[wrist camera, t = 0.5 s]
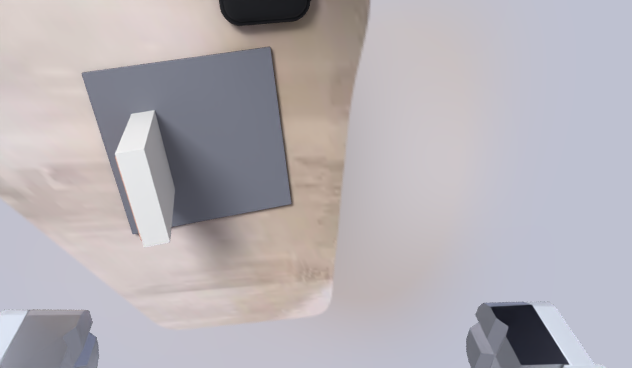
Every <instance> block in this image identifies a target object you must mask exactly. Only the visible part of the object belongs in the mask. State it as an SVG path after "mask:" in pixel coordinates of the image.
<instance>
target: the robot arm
mask: <svg viewBox="0 0 632 368" xmlns="http://www.w3.org/2000/svg"><path fill="white" fill-rule="evenodd" d="M476 317H477V319H478V321H479V322H478V323H477V324H475V325H474V326H473V327H471V328H470V330H469V333H468V336H467V339H466V350H467V351H466V352H467V356H468V360H469V363H470V366H471V368H606V367H604V366H603V365H602V364H594V363H593V361H592V360H591V359H590V357H589V355H588V354H587V352H586V351H585V350H584V348H583V347H582V345H581V344H580V342H579V341H578V339H577V338H576V336H575V335H574V333H573V332H572V331H571V329H570V328H569V326H568V325H567V323H566V322H565V320H564V319H563V317H562V316H561V314H560V313H559V311H558V310H557V308H556V307H555V306H554V305H553V304H552V303H550V302H502V303H501V302H499V303H483V304H481V305H480V306H479V307H478V310H477V312H476ZM92 323H93V322H92V318H91V315H90V312H89V311H88V310H3V311H2V312H1V313H0V368H97V366H98V359H99V352H98V351H99V349H98V342H97V337H95V336H94V335H93V334H91V333H90V332H89V331H90V328H91V325H92Z"/></svg>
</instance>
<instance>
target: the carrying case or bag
mask: <svg viewBox="0 0 632 368" xmlns="http://www.w3.org/2000/svg"><path fill="white" fill-rule="evenodd" d="M310 1H311V0H219V4H220V9H221V12H222V14H223V16H224V17H225V19H226V20H227V21H229V22H230V23H232V24H234V25H238V26H244V25H256V24H267V23H279V22H291V21H296V20H299V19H300V18H302V17H303V16H304V15H305V14H306V12H307V11H308V9H309V6H310Z"/></svg>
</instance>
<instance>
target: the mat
mask: <svg viewBox="0 0 632 368" xmlns="http://www.w3.org/2000/svg"><path fill="white" fill-rule="evenodd" d="M82 77H83V80H84V83H85V86H86V89H87V92H88V95H89V99H90V102H91V105H92V108H93V111H94V114H95V117H96V120H97V124H98V127H99V130H100V133H101V136H102V139H103V142H104V146H105V149H106V152H107V155H108V158H109V161H110V164H111V168H112V171H113V174H114V177H115V180H116V183H117V186H118V189H119V193H120V196H121V199H122V202H123V205H124V208H125V211H126V215H127V218H128V221H129V224H130V227H131V230H132V233H133V234H137V233H138V229H137V226H136V223H135V220H134V217H133V213H132V210H131V207H130V204H129V201H128V197H127V194H126V191H125V188H124V184H123V181H122V178H121V175H120V172H119V168H118V165H117V162H116V159H115V152H116V150H117V148H118V145H119V143H120V140H121V138H122V135H123V133H124V131H125V128H126V126H127V123H128V121H129V118H130V116H131V114H133V113H140V112H146V111H153V110H155V114H156V117H157V121H158V125H159V129H160V133H161V137H162V141H163V145H164V148H165V152H166V156H167V160H168V164H169V168H170V172H171V176H172V179H173V183H174V187H175V195H174V206H173V216H172V227H174V226H179V225H184V224H190V223H195V222H200V221H205V220H210V219H216V218H221V217H226V216H231V215H237V214H242V213H247V212H252V211H257V210H263V209H268V208H273V207H278V206H284V205H289V204H291V197H290V190H289V183H288V175H287V168H286V160H285V153H284V146H283V138H282V131H281V123H280V116H279V109H278V101H277V94H276V86H275V79H274V71H273V64H272V57H271V49H270V47H264V48H256V49H249V50H242V51H235V52H228V53H220V54H213V55H206V56H199V57H191V58H184V59H177V60H170V61H163V62H155V63H148V64H141V65H134V66H127V67H119V68H112V69H105V70H98V71H90V72H83V73H82Z"/></svg>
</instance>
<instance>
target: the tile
mask: <svg viewBox="0 0 632 368" xmlns="http://www.w3.org/2000/svg"><path fill="white" fill-rule="evenodd" d="M115 159H116V162H117V165H118V168H119V172H120V175H121V178H122V181H123V184H124V188H125V191H126V194H127V197H128V201H129V204H130V207H131V210H132V213H133V217H134V220H135V223H136V226H137V229H138V233H139V236H140V239H141V241H142V243H143V246H144V247H149V246H154V245H159V244H164V243H169V242H170V237H171V227H172V216H173V206H174V195H175V187H174V183H173V179H172V176H171V172H170V168H169V164H168V160H167V156H166V152H165V148H164V145H163V141H162V137H161V133H160V129H159V125H158V121H157V117H156V114H155V110H153V111H146V112H140V113H133V114H131V116H130V118H129V121H128V123H127V126H126V128H125V131H124V133H123V135H122V138H121V140H120V143H119V145H118V148H117V150H116V152H115Z"/></svg>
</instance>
